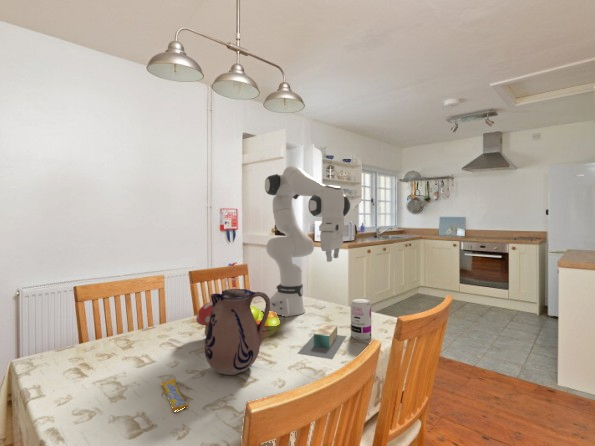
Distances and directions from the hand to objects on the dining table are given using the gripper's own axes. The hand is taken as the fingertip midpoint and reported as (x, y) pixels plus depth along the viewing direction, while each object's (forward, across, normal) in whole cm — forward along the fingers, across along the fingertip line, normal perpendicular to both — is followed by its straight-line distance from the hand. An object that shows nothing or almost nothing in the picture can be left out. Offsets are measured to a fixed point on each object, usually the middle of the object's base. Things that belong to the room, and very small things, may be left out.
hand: (332, 259), depth 130 cm
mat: (+32, +9, -1) cm, 33 cm away
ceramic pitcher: (+32, +36, -22) cm, 53 cm away
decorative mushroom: (+33, +19, -45) cm, 58 cm away
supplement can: (+32, -4, +11) cm, 34 cm away
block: (+29, +12, -1) cm, 31 cm away
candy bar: (+32, +58, -29) cm, 72 cm away
